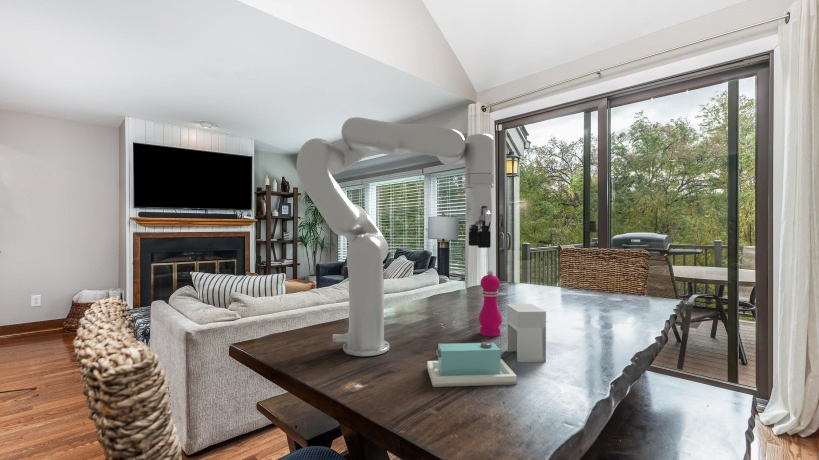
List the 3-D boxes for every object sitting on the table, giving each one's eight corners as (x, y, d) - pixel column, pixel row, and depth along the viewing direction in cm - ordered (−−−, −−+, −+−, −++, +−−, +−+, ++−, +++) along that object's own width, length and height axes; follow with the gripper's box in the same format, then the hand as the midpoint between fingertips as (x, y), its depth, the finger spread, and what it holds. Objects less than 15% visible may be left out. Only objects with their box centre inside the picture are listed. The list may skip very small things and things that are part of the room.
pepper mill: (500, 330, 120) (500, 268, 119) (503, 337, 112) (503, 271, 112) (477, 330, 120) (477, 268, 120) (479, 336, 113) (479, 271, 113)
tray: (432, 386, 78) (432, 378, 78) (427, 368, 88) (427, 361, 88) (516, 384, 79) (516, 375, 79) (501, 366, 89) (501, 359, 89)
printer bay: (518, 362, 92) (518, 311, 92) (506, 350, 101) (506, 304, 101) (545, 361, 92) (546, 311, 92) (531, 349, 101) (531, 303, 101)
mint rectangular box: (438, 378, 80) (438, 348, 80) (435, 369, 85) (435, 341, 85) (500, 377, 81) (500, 347, 81) (493, 368, 86) (493, 340, 86)
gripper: (458, 185, 107) (458, 245, 107) (473, 177, 89) (473, 248, 90) (484, 185, 107) (484, 245, 107) (503, 178, 90) (503, 248, 90)
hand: (479, 246), depth 99 cm, fingers open, 9 cm apart
